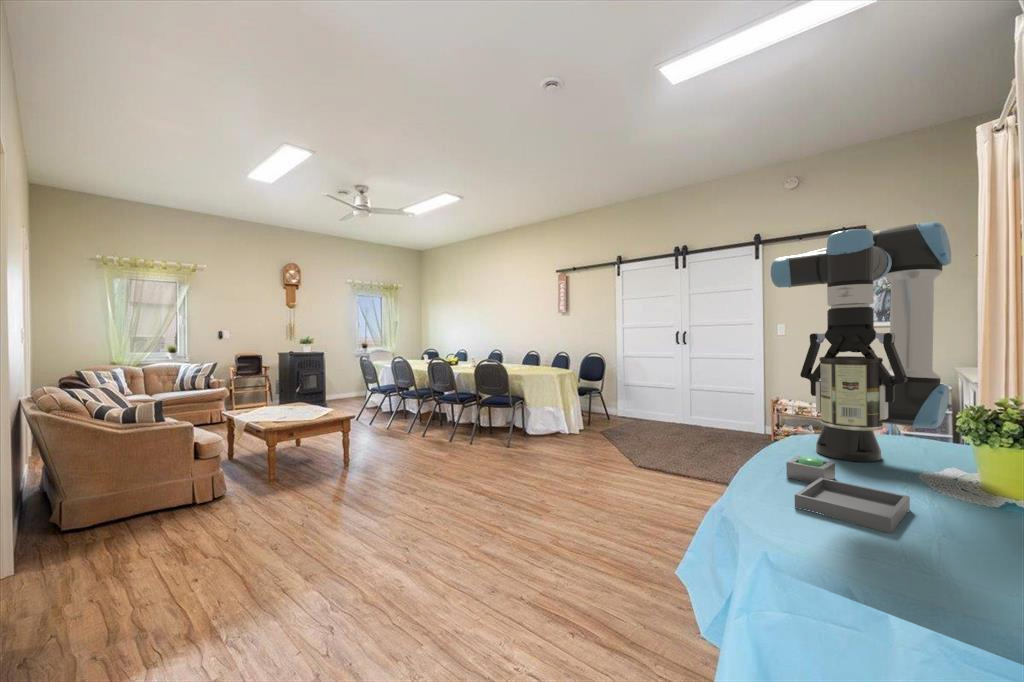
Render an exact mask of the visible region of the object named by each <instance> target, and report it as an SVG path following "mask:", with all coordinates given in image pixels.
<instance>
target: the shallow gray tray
mask: <svg viewBox="0 0 1024 682" xmlns="http://www.w3.org/2000/svg"><path fill="white" fill-rule="evenodd" d="M910 497H911V496H910V495H906V494H905V495H904V494H899V493H895V492H891V491H885V490H883V489H882V490H881V489H876V488H873V487H871V488H870V487H867V486H862V485H858V484H852V483H847V482H843V481H837V480H835V479H833V480H829V479H825V478H819V479H817V480H816V481H814V482H813V483H810V484H808V485H807V486H805V487H804V488H802V489H801V490H799V491H798V492H796V493H795V494H794V508H795V507H797V508H796V509H798V508H801V509H800V510H802V509H806V510H810V511H814V512H818V513H821V514H824V515H827V516H826V517H828V516H830V517H829V518H831V517H834V518H833V519H835V518H836V520H839V521H843V522H846V523H851V524H855V525H859V526H863V527H866V528H869V529H873V530H877V531H881V532H883V533H889V534H892V533H893V531H894V530H895V529H896V528H897V527H898V525H899V524H900V523H901V522H902V520H903V519H904V518H905V517H904V516H907V514H908V513H907V512H908V511H909V512H910V511H911V509H910V508H911V507H910V506H911V505H910V504H911V498H910ZM824 515H823V516H824ZM903 517H904V518H903ZM900 521H901V522H900ZM899 522H900V523H899ZM896 526H897V527H896Z"/></svg>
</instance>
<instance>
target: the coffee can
mask: <svg viewBox="0 0 1024 682" xmlns="http://www.w3.org/2000/svg"><path fill="white" fill-rule="evenodd" d="M877 357H878V356H877ZM883 361H884V360H883V357H878V358H877V359H866V357H865V356H856V355H855V356H854V355H853V356H852V355H851V356H847V355H846V356H842V355H841V356H838V355H836V356H835V358H824V356H821V357H819V363H820V372H821V378H820V381H821V412H820V424H821V425H822V426H823V425H825V426H829V427H833V428H838V429H846V430H857V431H873V432H874V431H875V432H876V431H881V430H883V429H884V426H883V425H884V423H883V422H882V419H880V386H881V385H882V380H881V378H880V377H879V364H883Z"/></svg>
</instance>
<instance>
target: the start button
mask: <svg viewBox="0 0 1024 682" xmlns="http://www.w3.org/2000/svg"><path fill="white" fill-rule="evenodd" d="M801 456H802V457H799V463H801V464H807V465H812V466H817V467H821V466H822V465H823V460H824V459H821V458H818V457H815V456H808V455H807V456H806V455H805V456H803V455H801Z"/></svg>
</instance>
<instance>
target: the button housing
mask: <svg viewBox="0 0 1024 682" xmlns="http://www.w3.org/2000/svg"><path fill="white" fill-rule="evenodd" d="M802 456H803V455H798V456H794V457H793V458H791V459H790V460H788V461H786V462H785V464H786V465H785V466H786V478H787V477H788V478H787V479H790V478H792V479H791V480H795V479H796V480H795V481H799V480H800V481H799V482H804V481H805V482H804V483H808V482H809V483H810V484H811V483H813V482H814V481H816V480H817V479H819V478H825V479H829V480H835V479H836V462H835V461H830V460H825V459H822V460H823V465H822V466H821V467H817V466H812V465H807V464H801V463H799V457H802Z"/></svg>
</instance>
